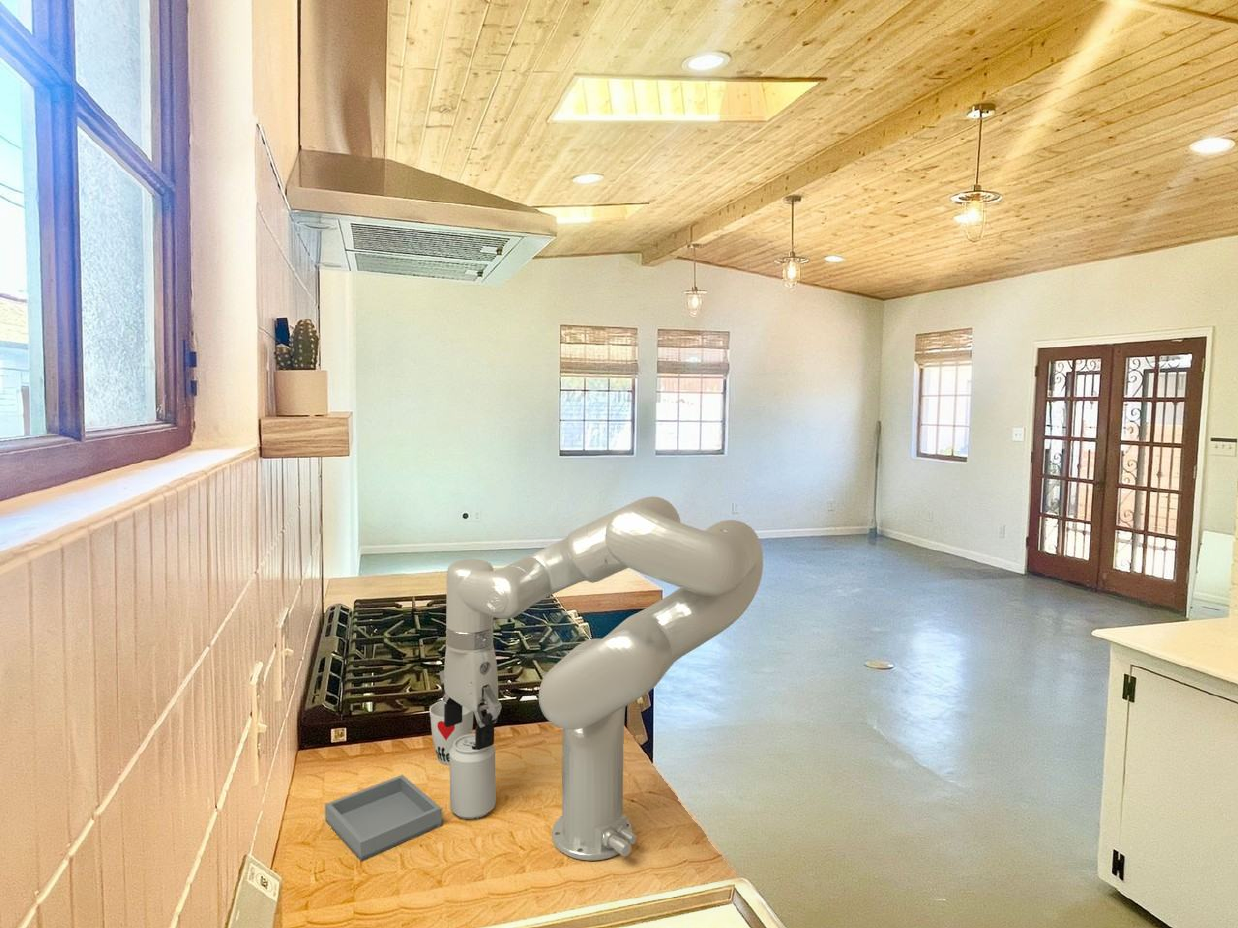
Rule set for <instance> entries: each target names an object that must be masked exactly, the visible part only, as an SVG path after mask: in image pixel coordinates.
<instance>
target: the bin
mask: <svg viewBox="0 0 1238 928" xmlns="http://www.w3.org/2000/svg"><path fill="white" fill-rule="evenodd" d="M442 810H443V808H442V807H441V806H440V805H438V803H436V802H435V801H434V800H432V798H430V797H429V796H428V795H427V794H425V792H423V791H422V790H421V789H420V788H419V787H418V786H417V785H415V784H414V783H413V782H412V781H410V779H408V778H407V777H406V776H405V775H403V774H401V775H398V776H395V777H393V778H390V779H388V780H385V781H383V782H380V783H379V782H378V783H377V784H375V785H371V786H370V787H367V788H363V789H361V790H358V791H356V792H354V793H350V794H348V795H345V796H343V797H339V798H338V799H335V800H333V801H329V802H327V803H325V804H324V811H325V812H324V816H325V823H326V824H327V825H328V826H329V827H330V826H331V827H330V828H331V829H332V830H333V831H334V833H335V832H336V833H335V834H336V835H337V836H338V837H339V839H341V841H342V842H343V843H344V844H345V845H346V846H347V848H348V850H349V849H350V851H351V852H352V854H354V855H355V857H356V858H357V859H358V860H359V861H360V862H363V861H366V860H368V859H370V858H372V857H374V856H377V855H379V854H381V853H384V852H386V851H388V850H390V849H392V848H395V847H397V846H399V845H402V844H404V843H406V842H408V841H411V840H413V839H415V838H418V837H420V836H421V835H422V836H423V835H424V834H426V833H429V832H431V831H434V830H436V829H438V828H440V827H442V826H443V811H442Z"/></svg>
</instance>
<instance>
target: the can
mask: <svg viewBox="0 0 1238 928" xmlns="http://www.w3.org/2000/svg"><path fill="white" fill-rule="evenodd" d="M449 761H450V765H449V806H450V811H452V813H454V814H455V815H456V816H457V817H459V818H461V819H464V820H475V819H474V818H477V819H479V817H480V818H483V817H484V815H485V816H486V815H488V814H489V813H490V812H491V811H492V810H493V809H494V808H495V806H496V804H497V802H496V799H497V796H496V794H497V793H496V790H497V788H496V784H497V783H496V748H495V745H494V744H493V745H492V746H489V747H486V748H483V749H481V750H477V749H476V748H475V733H472V734H467V735H463V736H461V737H459V738H457V739H456V740H455V741H454V743H453V747H452V748H451V750H450V752H449ZM488 812H489V813H488ZM487 813H488V814H487ZM482 816H483V817H482Z"/></svg>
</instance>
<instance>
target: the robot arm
mask: <svg viewBox="0 0 1238 928" xmlns="http://www.w3.org/2000/svg"><path fill="white" fill-rule="evenodd" d="M681 522H682V521H681V519H680V515H679V513H678V511H677V508H675V506H674V505H673V504H672V503H671V502H670V501H669V500H667V499H665V498H662V497H659V496H646V497H642V498H639V499H637V500H635V501H633V502H631V503H629V504H627V505H624V506H623V507H621V508H618V509H617V510H615V511H613V512H611V513H608V514H605V515H604V516H601V517H600V518H598V519H596V520H593V521H591V522H589V523H587V524H585V525H583V526H581V527H579V528H576V529H574V530H573V531H571V532H569V533H568V535H567V536H566V537H565V538H563V539H560V540H558V541H557V542H555V543H553V544H551V545H549V546H547V547H545V548H543V549H540V550H539V551H536V552H534V553H532V554H529V555H528V556H526V557H523V558H520V559H519V560H517V561H515V562H513V563H511V564H508V565H506V566H504V567H502V568H499V569H496V570H494V567H493V565H492V564H491V563H490V562H488V561H487V560H483V559H475V558H472V559H471V558H466V559H461V560H456V561H453V562H452V563H450V564H449V566H448V568H447V570H446V591H445V592H446V593H445V595H446V599H445V600H446V605H445V607H446V610H445V611H446V615H445V616H446V618H445V621H446V623H445V625H446V627H445V628H446V629H445V634H446V635H445V646H446V647H445V654H444V668H443V670H441V671H439V672H438V673H439V674H438V675H439V678H440V682H441V686H440V688H441V690H442V693H443V696H442V700H443V702H444V703H446V704H444V725H445V726H446V727H450V726H453V725H456V724H459V723H461V722H462V706H463V707H465V708H466V709H468V710H470V711H472V712H473V715H474V717H475V720H476V723H477V725H475V733H474V734H475V748H476V749H477V750H481V749H483V748H486V747H489V746H492V745H493V746H494V744H495V724H497V721H498V719H499V718H500V713H501V710H502V708H503V707H502V706H503V705H502V703H501V702H500V700H499V678H498V665H497V664H498V663H497V656H496V651H495V648H494V646H493V644H494V618H495V619H500V620H509V619H513V618H515V617H517V616H518V615H520V614H522V613H523V612H525V611H527V610H528V609H529V608H531V607H532V606H535V605H536V604H537V603H539V602H540V601H543V600H544V599H545V598H548V597H550V596H552V595H554V594H556V593H558V592H560V591H563V590H566V589H567V588H569V587H572V586H574V585H576V584H579V583H582V582H588V583H592V584H594V583H598V582H600V581H602V580H604V579H607V578H610V577H611V576H614V575H615V574H618V573H619V572H622V571H625V570H627V569H632V570H633V571H635V572H638V573H639V574H643V575H644V576H645V575H646V576H648V577H650V578H653V579H656V580H659V581H661V582H664V583H667V584H670V585H673V586H675V587H678V589H676V590H674V591H673V592H672V593H671V594H669V595H667V596H665V597H664V598H662V599H660V600H657V601H656V602H654V603H653V604H652V605H650V606H648V607H646V608H644V609H641V610H640V611H639V612H637V613H634V614H632V615H630V616H628V617H626V619H624V620H623V621H622V622H620V623H619V624H618V626H616V627H615V628H613V629H612V630H611V631H610V632H609V633H608V634H607V635H605V636H604V637H603V638H592V639H591V638H590V639H588V640H584V641H583V642H581V643H580V644H578V645H576V646H575V647H574V648H573V649H572V650H571V651H569V652H567V654H566V655H565V656H563V657H562V659H560V661H558V662H557V663H556V664H555V665H554V666H552V667H551V668H550V669H549V670H548V671H547V672H546V673H545V675H544V676H543V678H542V680H541V683H540V686H539V691H538V703H539V707H540V710H541V712H542V714H543V716H544V717H545V718H546V720H547V721H548V722H549V723H551V724H552V725H554V726H555V727H558V728H560V729H562V743H561V745H562V747H561V748H562V749H561V750H562V751H561V753H562V754H561V755H562V759H561V760H562V761H561V765H562V766H561V769H562V770H561V774H562V775H561V777H562V779H561V784H562V785H561V788H562V789H561V791H562V793H561V797H562V799H561V802H562V803H561V816H559V818H557V820H556V821H555V822H554V824H553V827H552V831H551V835H552V842H553V844H554V846H555V847H556V848H557V849H558V850H559V851H560V852H561V853H563V854H564V855H566V856H568V857H570V858H573V859H577V860H581V861H582V860H583V861H600V860H601V861H602V860H606V859H611V858H613V857H615V856H618V855H620V856H622V857H625V858H626V857H628V856H629V855H630V853H631V851H632V845H634V844H635V843H636V841H637V838H638V837H637V835H636V834H635V833H633V828H632V825H631V822H630V821H629V820H628V817H627V815H626V814H625V813H623V810H624V809H623V806H624V805H623V802H624V794H623V793H624V743H625V742H624V741H625V739H624V738H625V737H624V736H625V713H626V707H627V706H629V705H630V704H632V703H634V702H636V701H637V700H640V698H642V697H644V696H645V695H647V694H648V693H649V692H650V691H651V690H652V689H655V687H656V686H657V685H658V684H659V683H660V681H661V680H662V679H663V678H664V677H665V675H666V674H667V672H668V671H669V670H670V668H671V667H672V666H673V665H674V664H675V663H676V662H677V661H678V660H680V659H681V658H683V657H684V656H686V655H687V654H690V652H692V651H694V650H696V649H697V648H700V647H701V646H702V645H704V644H705V643H707V642H708V641H710V640H712V639H713V638H716V636H719V635H720V634H721V633H722V632H724V631H726V630H727V629H728V628H729V627H731V625H733V624H734V623H735V622H736V621H737V620H738V619H740V617H741V616H742V615H743V614H744V613H745V611H746V610H747V609H748V608H749V606H750V604H751V603H752V601H753V600H754V598H755V596H756V594H757V593H758V590H759V587H760V584H761V581H762V576H763V572H764V571H763V569H764V554H763V547H762V543H761V539H760V538H759V536H758V535H757V533H756V531H755V530H754V528H752V527H751V526H750V525H748V524H747V523H745V522H743V521H740V520H734V519H729V520H721V521H719V522H717V523H714V524H712V525H710V526H708V528H707V529H705V530H702V529H699V528H697V527H694V526H690V525H688V524H685V523H681ZM481 703H484V704H481ZM480 704H481V705H480ZM484 710H486V714H485V716H484V717H483V715H482V711H484Z"/></svg>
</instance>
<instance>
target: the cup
mask: <svg viewBox="0 0 1238 928" xmlns="http://www.w3.org/2000/svg"><path fill="white" fill-rule="evenodd" d="M444 704H446V703H444V702H443V699H442V700H440V701H437V702H435V703H434V704H432V705H431V706H430V707H429V720H430V732H431V738H432V742H433V747H434V751H435V754H436V756H437V759H438V762H439V763H440V764H442V765H446V766H450V761H449V752H450V750H451V748H452V747H453V743H454V741H455V740H456V739H457V738H459V737H461V736H463V735H467V734H473V729H474V726H473V725H474V712H472V711H470V710H468V709H466V708H465V707H463V706H462V722H461V723H459V724H456V725H453V726H450V727H446V726H445V725H444Z"/></svg>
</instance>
